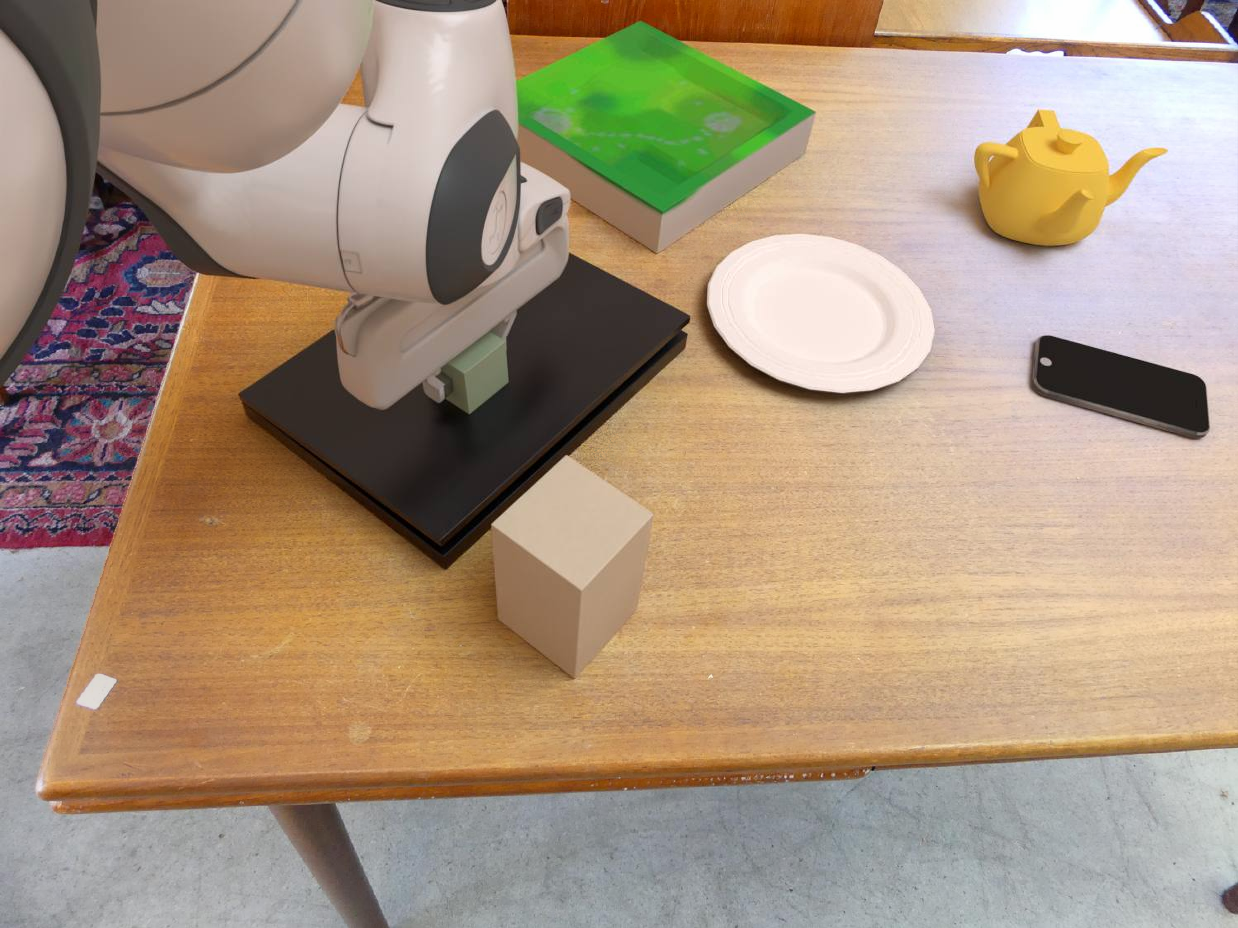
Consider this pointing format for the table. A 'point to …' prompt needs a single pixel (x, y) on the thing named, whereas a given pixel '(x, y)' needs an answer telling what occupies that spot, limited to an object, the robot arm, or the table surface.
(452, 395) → the block
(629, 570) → the stand
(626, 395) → the laptop
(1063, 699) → the table surface
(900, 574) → the table surface
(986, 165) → the teapot
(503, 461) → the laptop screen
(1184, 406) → the smartphone
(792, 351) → the plate
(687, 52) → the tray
